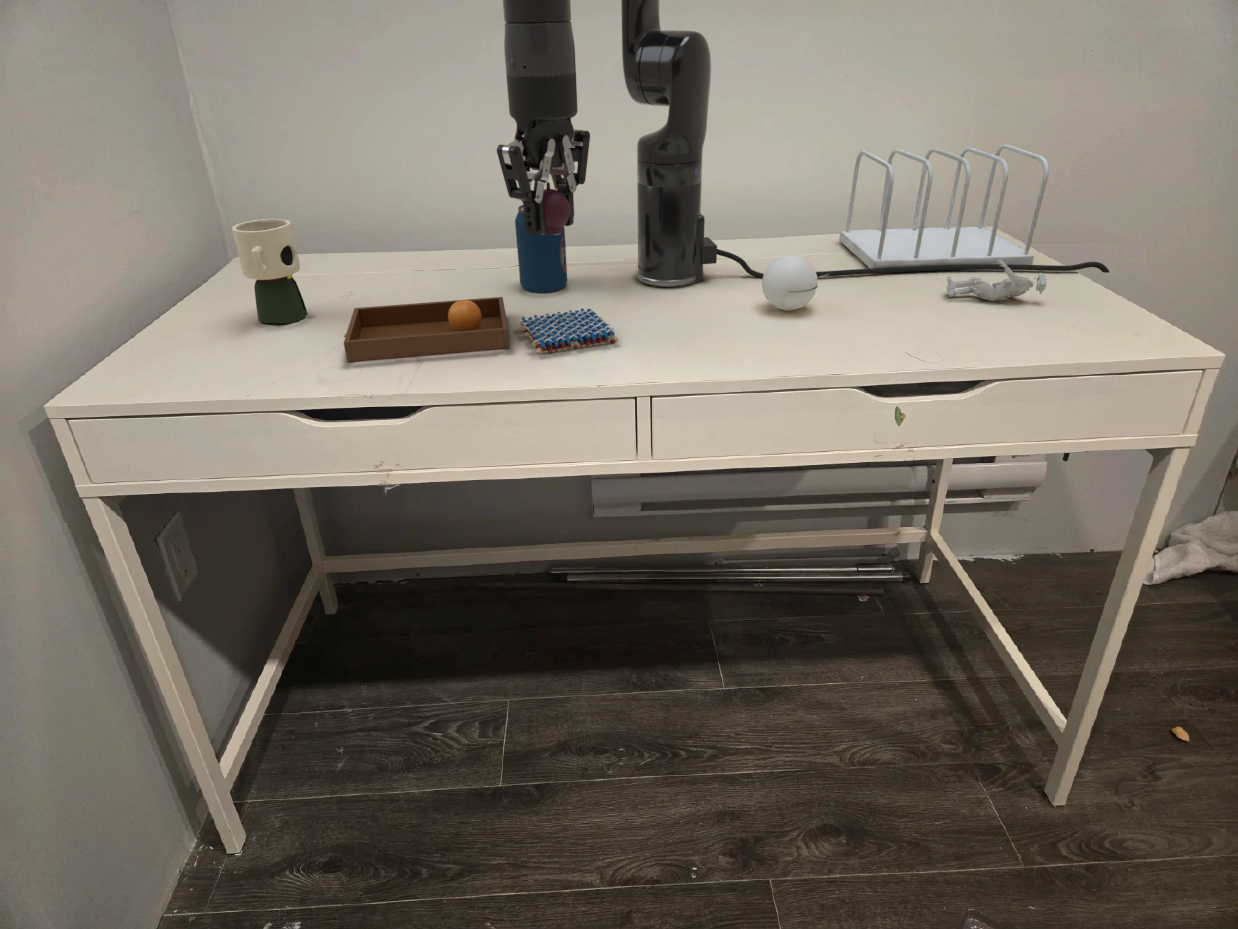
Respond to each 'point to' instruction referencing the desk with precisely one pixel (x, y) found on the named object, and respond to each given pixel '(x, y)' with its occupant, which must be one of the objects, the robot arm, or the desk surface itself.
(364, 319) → the tray
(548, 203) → the plum
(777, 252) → the desk surface
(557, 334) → the woven mat
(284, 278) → the character mug
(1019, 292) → the soldier figure
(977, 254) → the file sorter
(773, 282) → the seamed sphere
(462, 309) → the apricot
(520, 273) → the soda can
